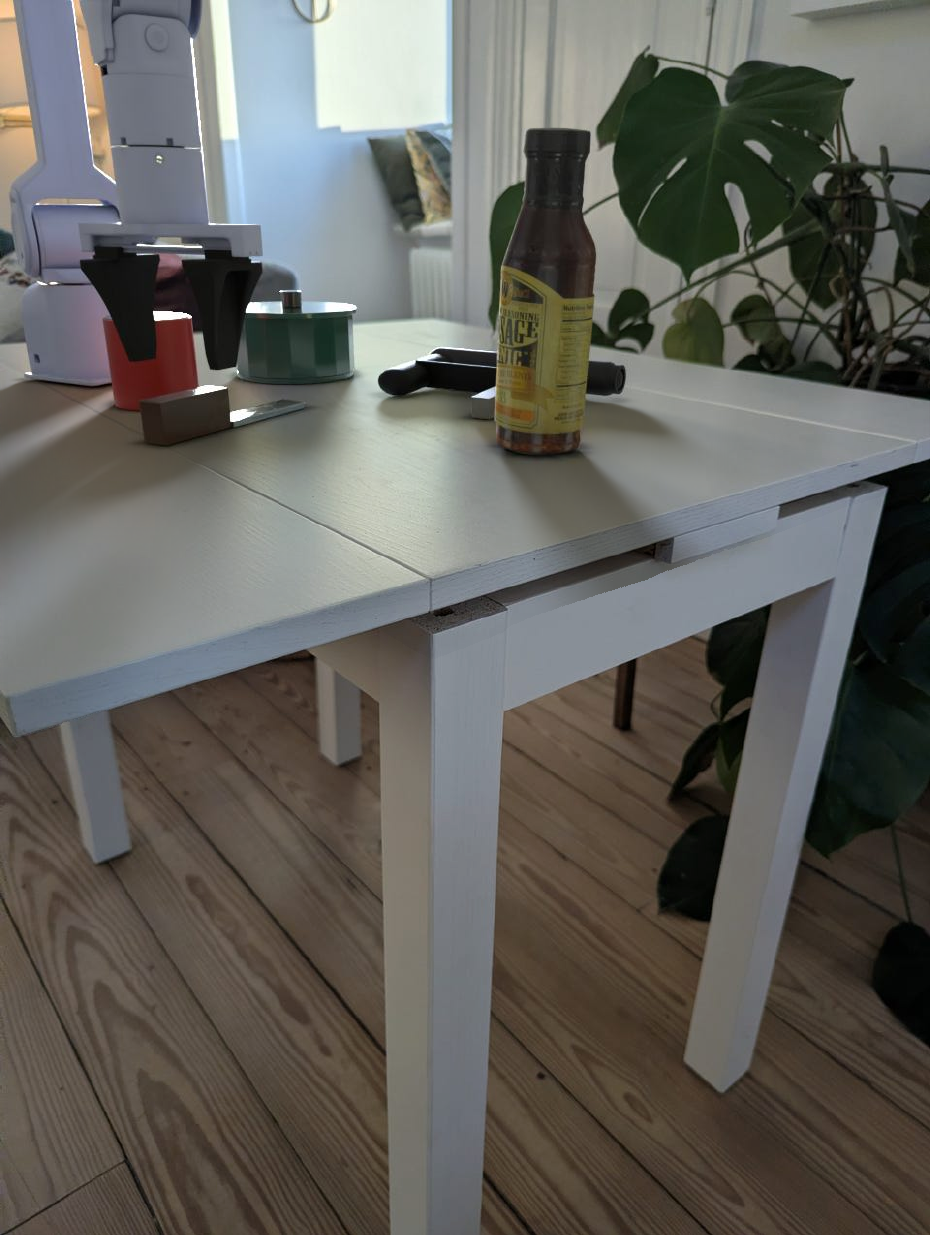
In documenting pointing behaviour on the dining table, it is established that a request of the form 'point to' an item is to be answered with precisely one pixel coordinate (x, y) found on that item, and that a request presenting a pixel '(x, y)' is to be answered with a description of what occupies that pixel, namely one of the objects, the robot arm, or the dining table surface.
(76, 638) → the dining table surface
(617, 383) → the door handle
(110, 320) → the can
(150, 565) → the dining table surface
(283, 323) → the pot
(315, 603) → the dining table surface
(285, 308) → the pot lid
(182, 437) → the knife
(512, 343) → the sauce bottle
